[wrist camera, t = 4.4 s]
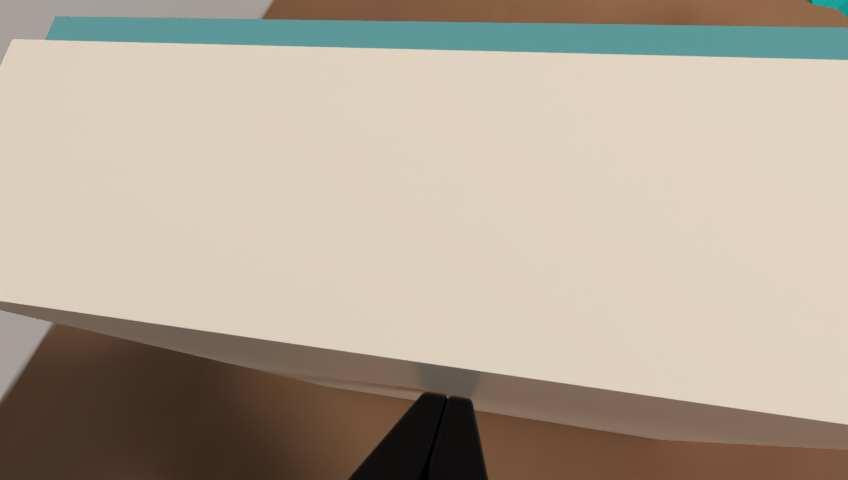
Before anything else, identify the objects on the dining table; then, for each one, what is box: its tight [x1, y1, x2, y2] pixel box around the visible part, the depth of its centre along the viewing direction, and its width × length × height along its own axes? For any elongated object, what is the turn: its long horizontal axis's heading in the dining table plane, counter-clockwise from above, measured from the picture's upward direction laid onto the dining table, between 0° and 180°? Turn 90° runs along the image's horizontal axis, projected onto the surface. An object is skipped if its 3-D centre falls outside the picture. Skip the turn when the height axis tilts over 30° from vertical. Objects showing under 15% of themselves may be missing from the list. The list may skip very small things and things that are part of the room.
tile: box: [0, 17, 848, 450], centre depth 11 cm, size 4×10×13 cm, turn 82°
